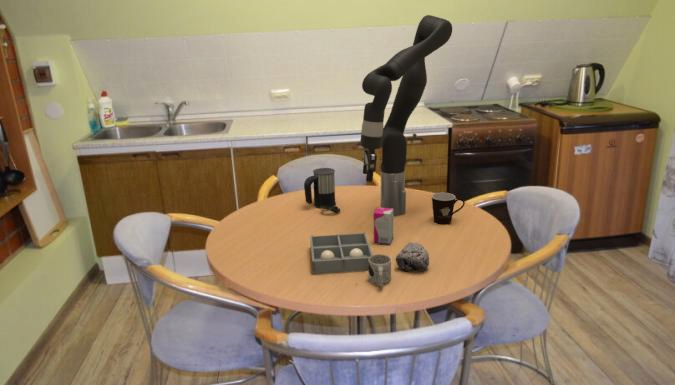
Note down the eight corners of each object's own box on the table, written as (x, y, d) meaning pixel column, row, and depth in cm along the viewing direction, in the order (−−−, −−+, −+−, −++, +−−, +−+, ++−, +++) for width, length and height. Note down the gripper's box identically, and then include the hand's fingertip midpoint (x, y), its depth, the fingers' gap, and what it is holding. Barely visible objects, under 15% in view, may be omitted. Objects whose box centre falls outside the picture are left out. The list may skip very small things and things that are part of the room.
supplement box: (393, 238, 181) (394, 208, 177) (389, 245, 175) (390, 214, 171) (377, 236, 182) (377, 206, 179) (373, 243, 177) (373, 212, 173)
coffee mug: (428, 224, 191) (429, 199, 188) (433, 216, 199) (434, 191, 195) (460, 228, 187) (461, 202, 184) (464, 219, 195) (465, 194, 191)
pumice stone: (406, 283, 156) (436, 269, 157) (400, 262, 152) (430, 249, 154) (393, 267, 165) (421, 254, 167) (387, 247, 162) (415, 234, 163)
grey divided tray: (365, 244, 177) (365, 232, 175) (374, 270, 159) (373, 257, 158) (310, 247, 175) (310, 236, 174) (313, 274, 158) (312, 261, 156)
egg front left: (362, 258, 165) (362, 245, 164) (364, 264, 161) (364, 251, 160) (348, 258, 165) (348, 246, 164) (350, 265, 161) (349, 252, 159)
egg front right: (334, 259, 165) (333, 247, 163) (335, 266, 161) (334, 253, 159) (320, 260, 164) (319, 248, 163) (321, 267, 160) (320, 254, 159)
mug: (368, 274, 157) (368, 254, 155) (390, 273, 157) (390, 254, 154) (369, 291, 148) (368, 270, 145) (392, 290, 147) (392, 270, 145)
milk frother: (323, 199, 220) (321, 166, 215) (353, 206, 211) (353, 171, 207) (301, 209, 210) (299, 175, 205) (333, 217, 201) (331, 181, 196)
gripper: (386, 138, 173) (381, 184, 179) (379, 129, 186) (374, 171, 192) (364, 137, 172) (359, 183, 178) (358, 128, 185) (354, 170, 191)
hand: (367, 177), depth 185 cm, fingers open, 8 cm apart
